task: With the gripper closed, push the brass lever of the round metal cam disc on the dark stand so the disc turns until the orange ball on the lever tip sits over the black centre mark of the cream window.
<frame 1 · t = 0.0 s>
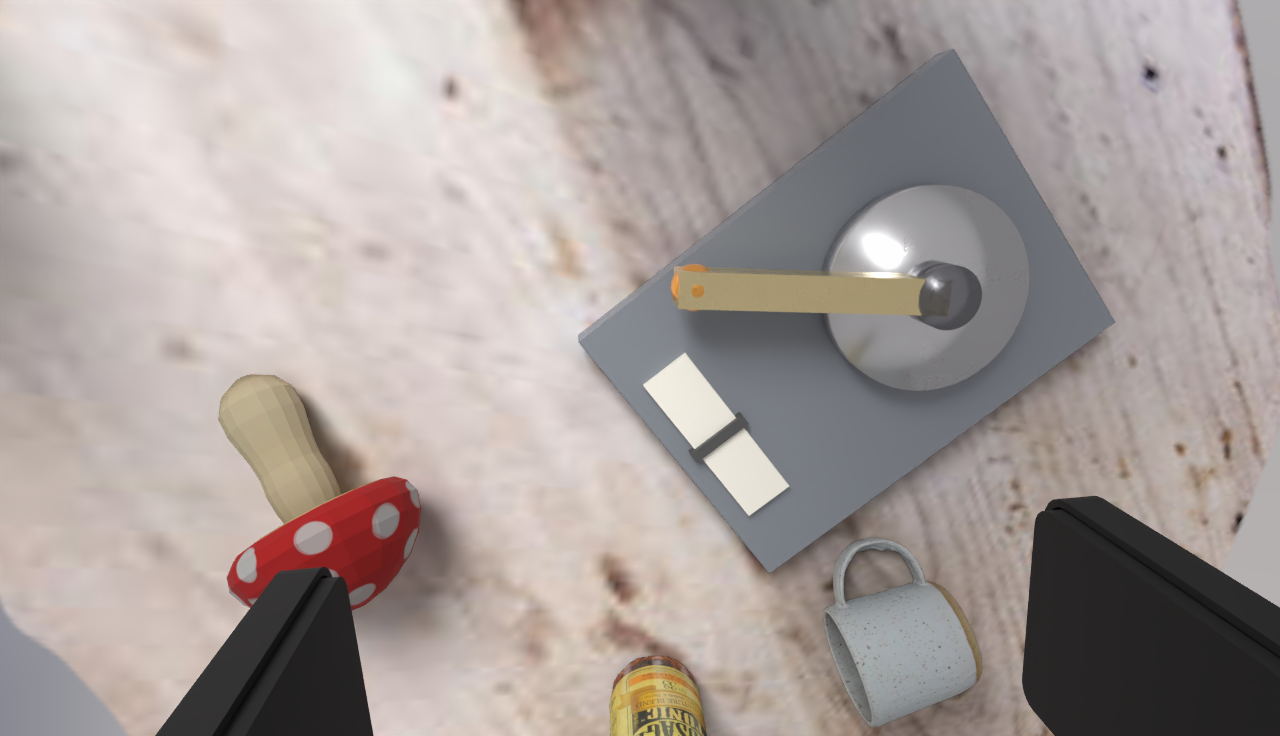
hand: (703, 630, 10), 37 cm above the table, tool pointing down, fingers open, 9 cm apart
decorative mushroom: (337, 460, 48), on the table
sauce bottle: (649, 685, 54), on the table
ceramic mug: (870, 600, 54), on the table
cam foot: (854, 290, 43), point 4 cm above the table, hinge at -40.0°
stand: (843, 325, 48), on the table
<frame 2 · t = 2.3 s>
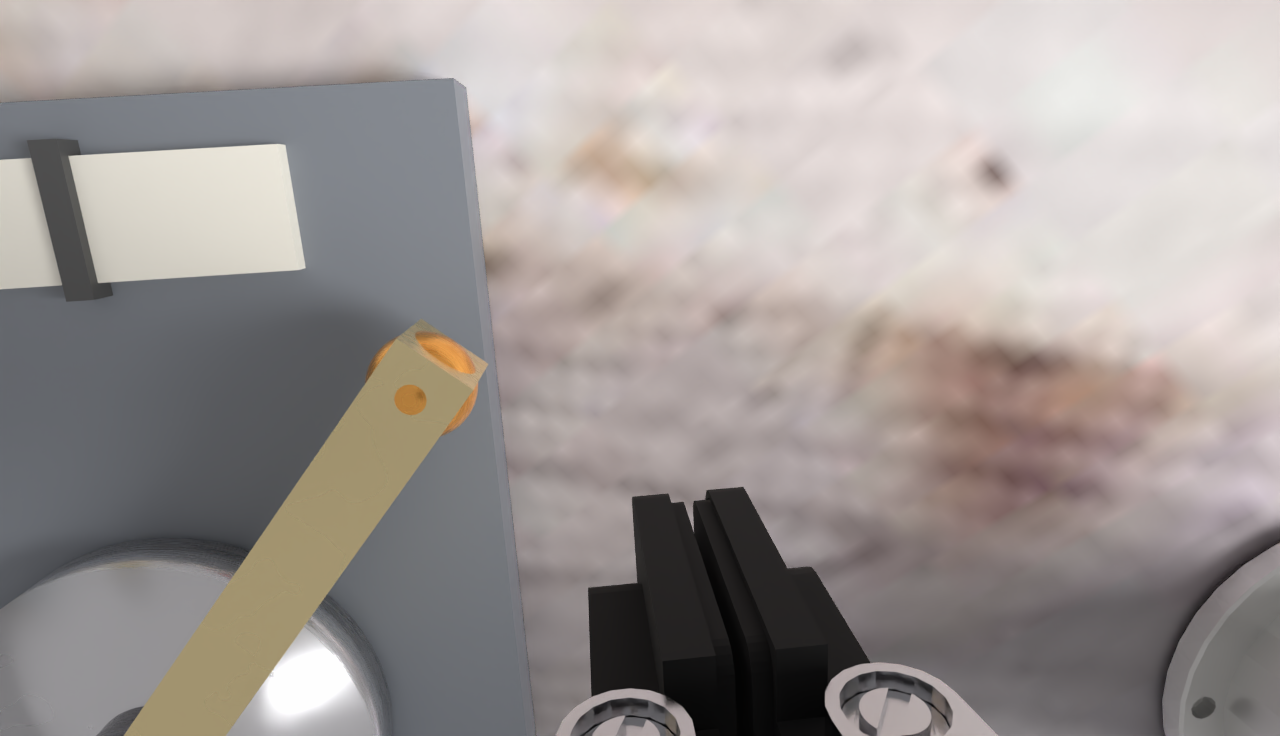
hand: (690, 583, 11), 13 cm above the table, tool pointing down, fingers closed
cam foot: (238, 648, 20), point 4 cm above the table, hinge at -40.0°
stand: (200, 549, 24), on the table
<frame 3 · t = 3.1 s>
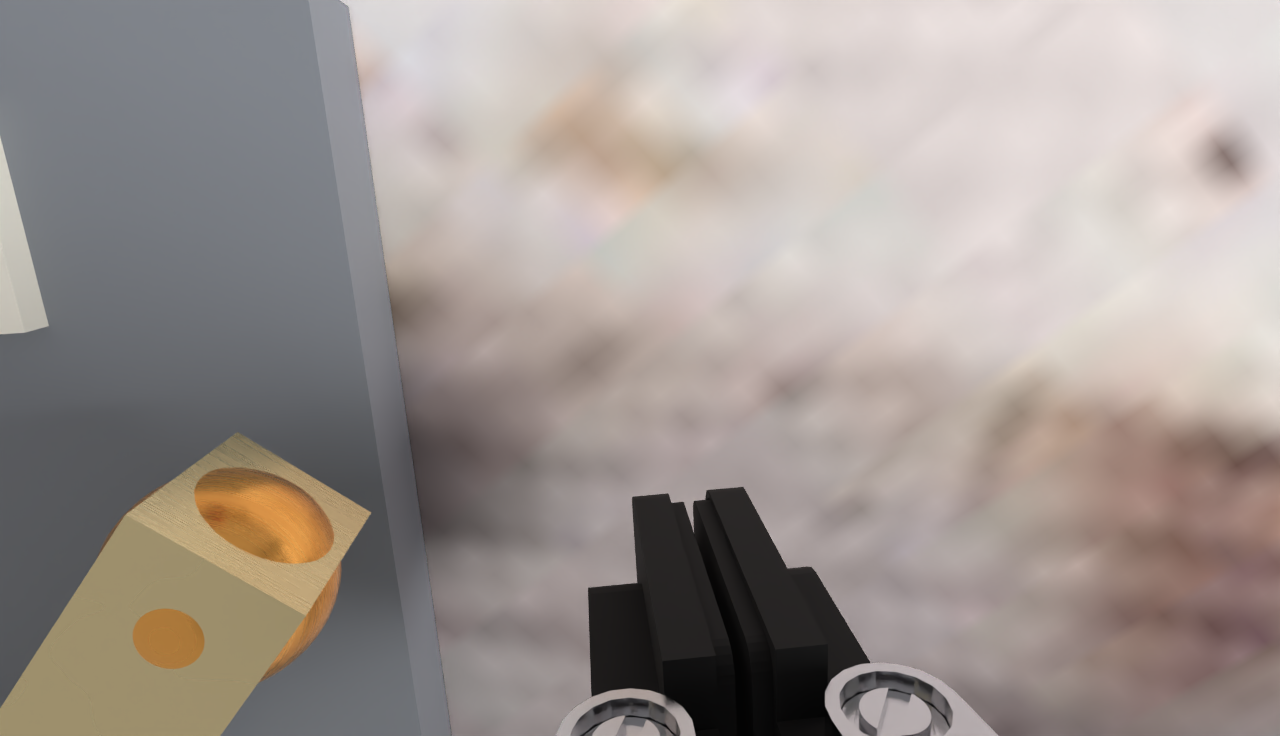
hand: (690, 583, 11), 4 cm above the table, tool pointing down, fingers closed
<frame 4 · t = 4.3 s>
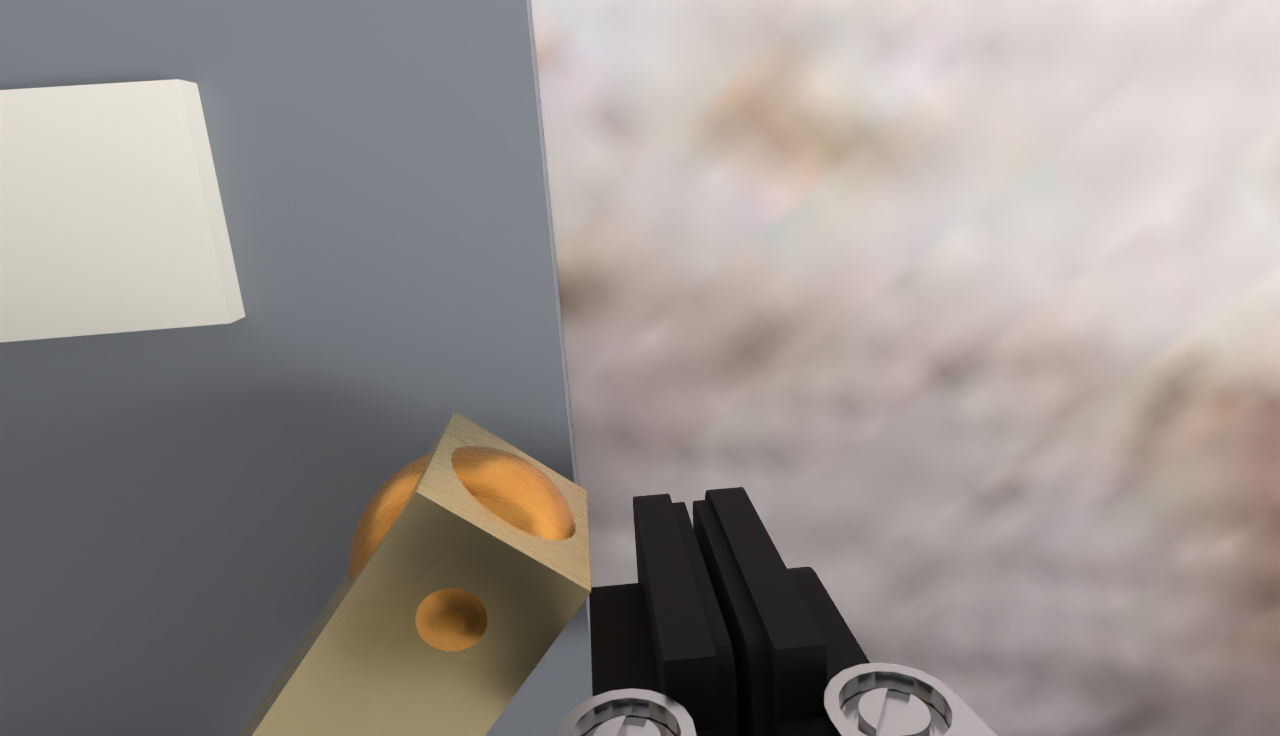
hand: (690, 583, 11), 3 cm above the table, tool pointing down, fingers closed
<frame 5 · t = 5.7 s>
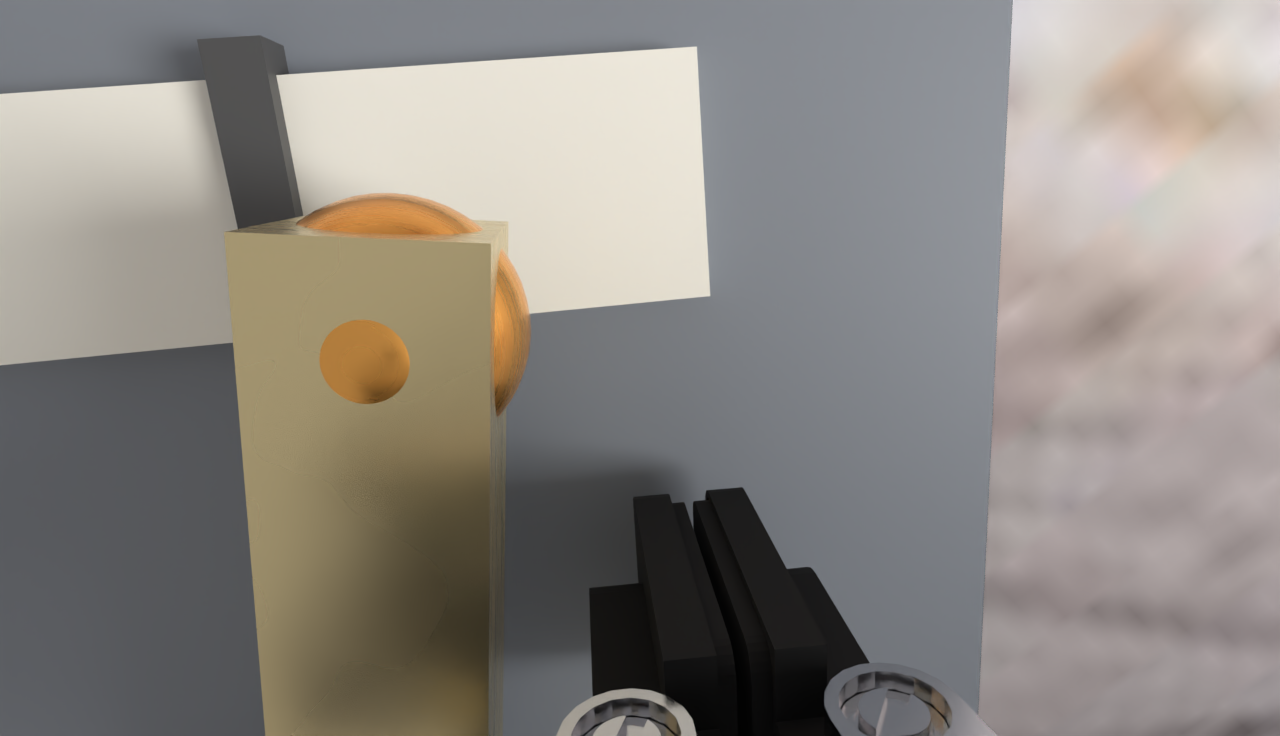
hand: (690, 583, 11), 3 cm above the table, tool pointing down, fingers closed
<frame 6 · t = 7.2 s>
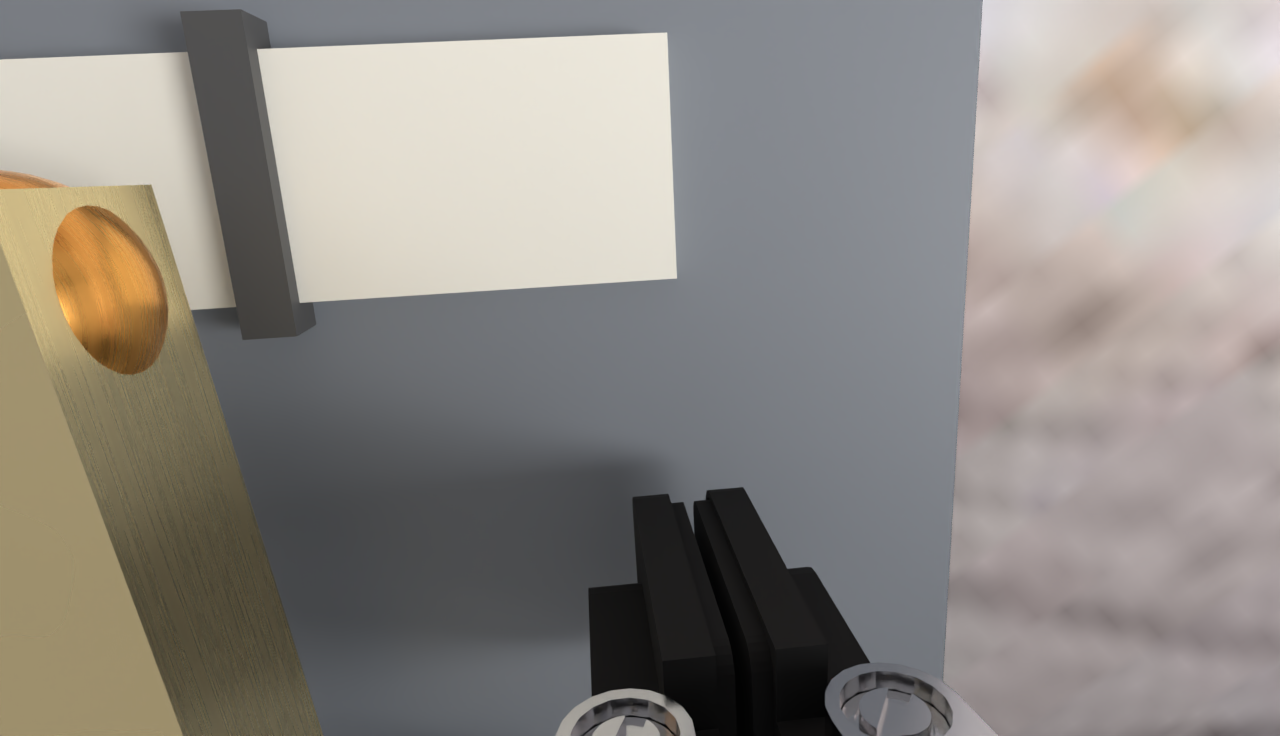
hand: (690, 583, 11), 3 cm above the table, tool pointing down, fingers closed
stand: (400, 729, 15), on the table
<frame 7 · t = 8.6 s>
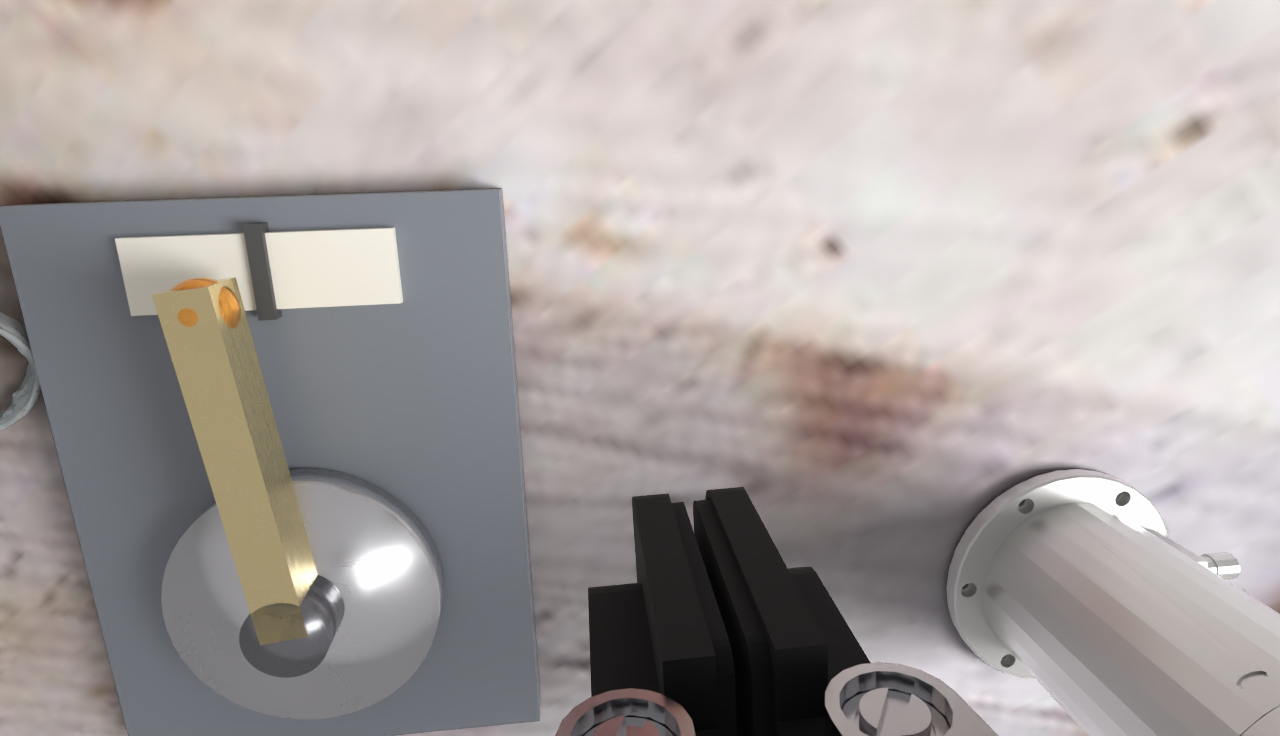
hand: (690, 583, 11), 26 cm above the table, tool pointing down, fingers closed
cam foot: (273, 518, 33), point 4 cm above the table, hinge at 5.6°
stand: (316, 479, 37), on the table
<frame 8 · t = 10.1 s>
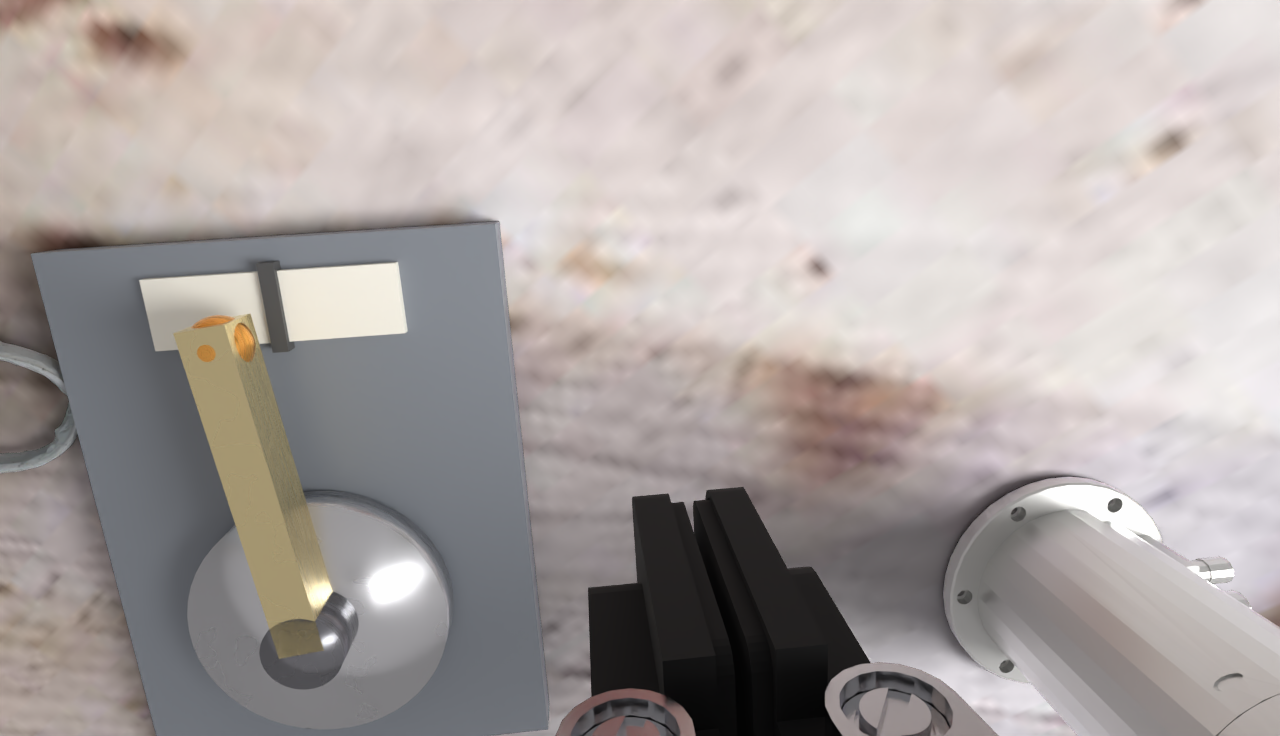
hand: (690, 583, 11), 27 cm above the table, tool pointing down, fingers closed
cam foot: (290, 539, 35), point 4 cm above the table, hinge at 5.6°
stand: (330, 500, 39), on the table
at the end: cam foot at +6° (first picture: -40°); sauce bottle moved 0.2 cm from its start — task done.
